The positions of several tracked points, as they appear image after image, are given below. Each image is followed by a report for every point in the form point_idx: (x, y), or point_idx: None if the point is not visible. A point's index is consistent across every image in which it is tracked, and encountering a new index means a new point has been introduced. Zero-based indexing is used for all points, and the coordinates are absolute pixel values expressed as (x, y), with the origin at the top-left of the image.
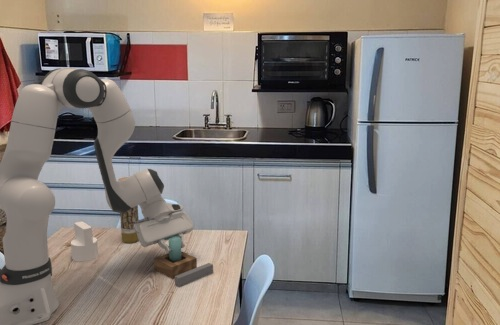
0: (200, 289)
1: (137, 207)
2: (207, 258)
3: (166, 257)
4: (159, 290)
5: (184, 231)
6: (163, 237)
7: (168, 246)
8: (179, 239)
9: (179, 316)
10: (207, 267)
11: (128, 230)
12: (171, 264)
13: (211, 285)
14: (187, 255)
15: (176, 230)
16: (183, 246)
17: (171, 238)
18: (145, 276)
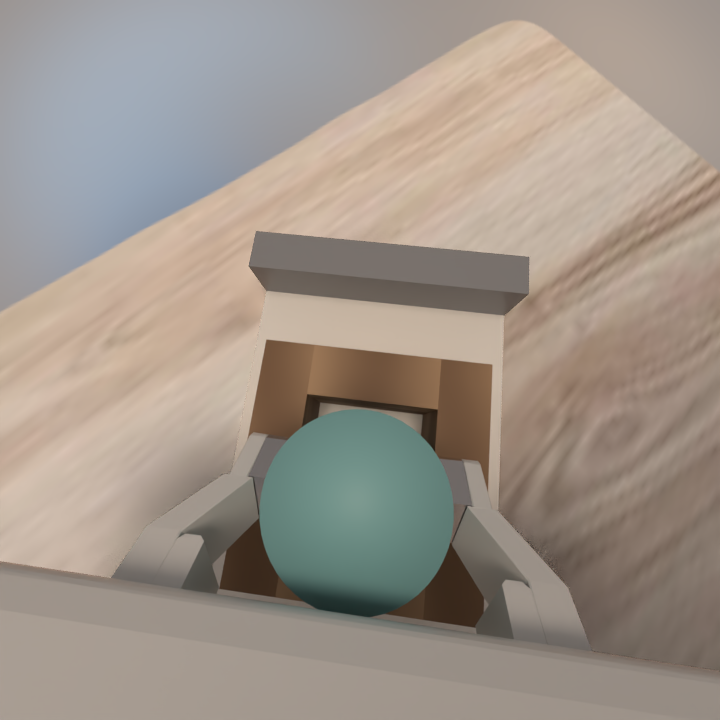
0: (422, 223)
1: None
2: (105, 447)
3: None
4: (568, 366)
5: (52, 573)
6: (542, 646)
7: (463, 496)
8: (336, 417)
9: (639, 138)
10: (301, 238)
11: None
12: (464, 403)
13: (360, 212)
14: (268, 427)
15: (176, 657)
16: (276, 439)
17: (382, 558)
18: None
